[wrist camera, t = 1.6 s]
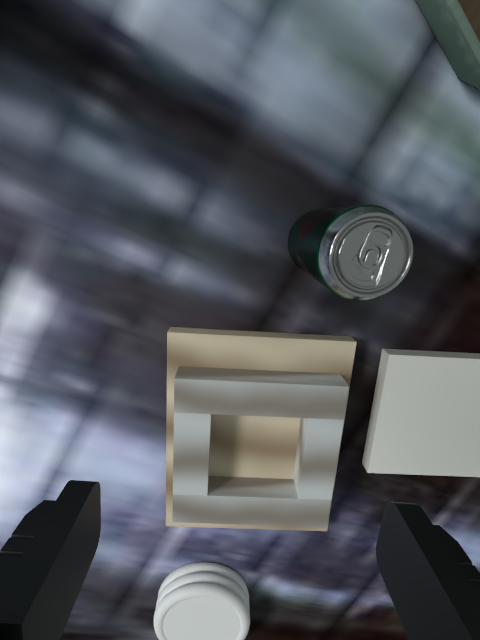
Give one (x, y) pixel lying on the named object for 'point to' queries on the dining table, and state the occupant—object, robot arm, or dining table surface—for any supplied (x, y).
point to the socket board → (254, 427)
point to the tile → (425, 414)
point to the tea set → (457, 34)
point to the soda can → (352, 249)
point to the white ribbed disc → (202, 604)
